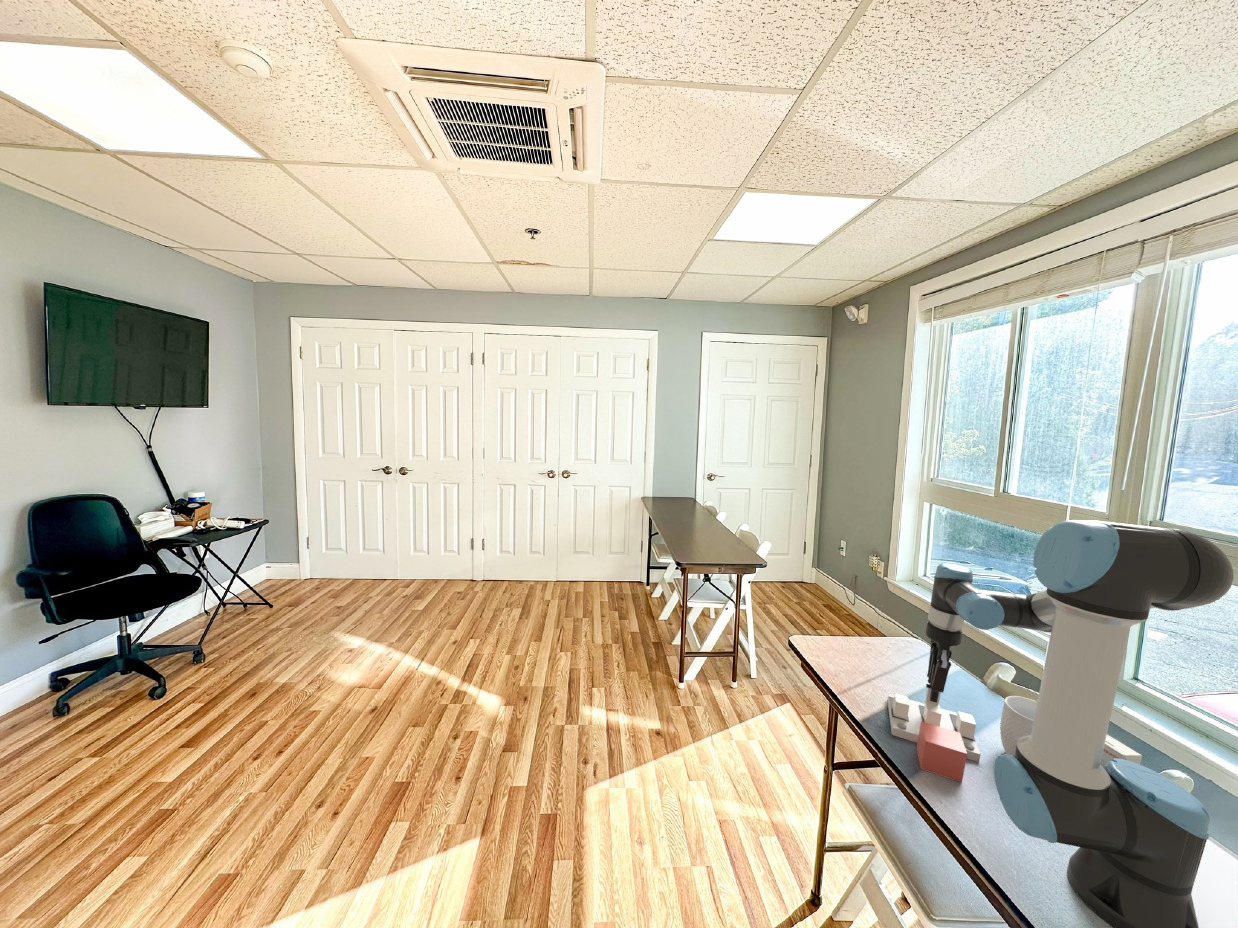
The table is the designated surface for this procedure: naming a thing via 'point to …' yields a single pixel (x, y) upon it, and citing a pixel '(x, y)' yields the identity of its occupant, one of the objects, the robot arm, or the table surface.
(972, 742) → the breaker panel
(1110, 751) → the ink box
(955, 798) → the table surface
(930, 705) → the toggle
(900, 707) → the toggle
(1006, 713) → the mug
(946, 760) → the cap
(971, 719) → the toggle
